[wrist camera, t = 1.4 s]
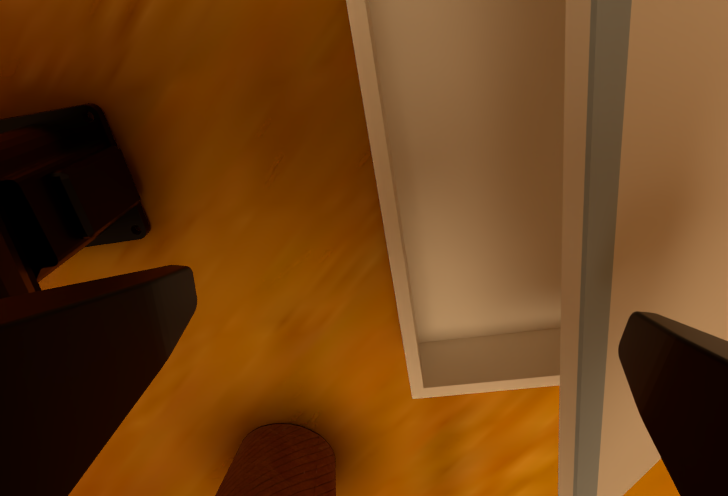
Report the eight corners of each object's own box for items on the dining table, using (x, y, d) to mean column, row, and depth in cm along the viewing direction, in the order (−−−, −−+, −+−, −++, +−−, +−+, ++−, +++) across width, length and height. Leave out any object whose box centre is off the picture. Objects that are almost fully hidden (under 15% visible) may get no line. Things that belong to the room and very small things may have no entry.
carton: (409, 346, 26) (412, 398, 22) (329, -152, 16) (313, -198, 13) (677, 317, 24) (727, 369, 21) (761, -254, 15) (879, -340, 11)
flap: (557, 532, 15) (574, 548, 15) (572, -432, 6) (617, -474, 6) (741, 361, 20) (759, 368, 20) (896, -310, 11) (935, -328, 11)
